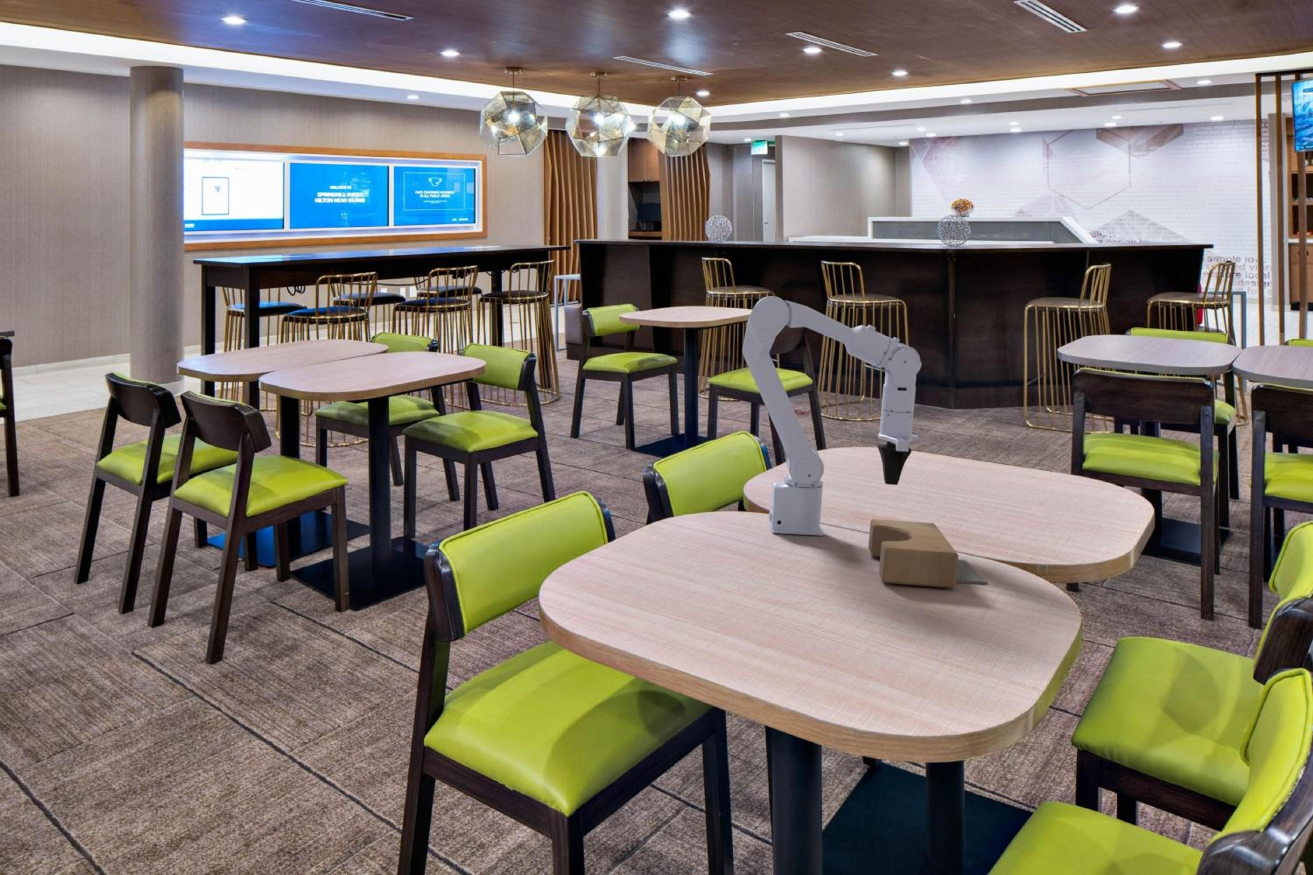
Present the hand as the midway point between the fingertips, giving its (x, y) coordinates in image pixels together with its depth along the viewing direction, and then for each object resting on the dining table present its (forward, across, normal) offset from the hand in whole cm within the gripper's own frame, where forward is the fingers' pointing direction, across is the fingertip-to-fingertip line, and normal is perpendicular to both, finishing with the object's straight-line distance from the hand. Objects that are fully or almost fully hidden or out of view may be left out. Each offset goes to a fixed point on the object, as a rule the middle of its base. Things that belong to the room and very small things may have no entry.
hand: (891, 483), depth 174 cm
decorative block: (+7, -12, 0) cm, 14 cm away
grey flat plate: (+10, -22, -3) cm, 24 cm away
